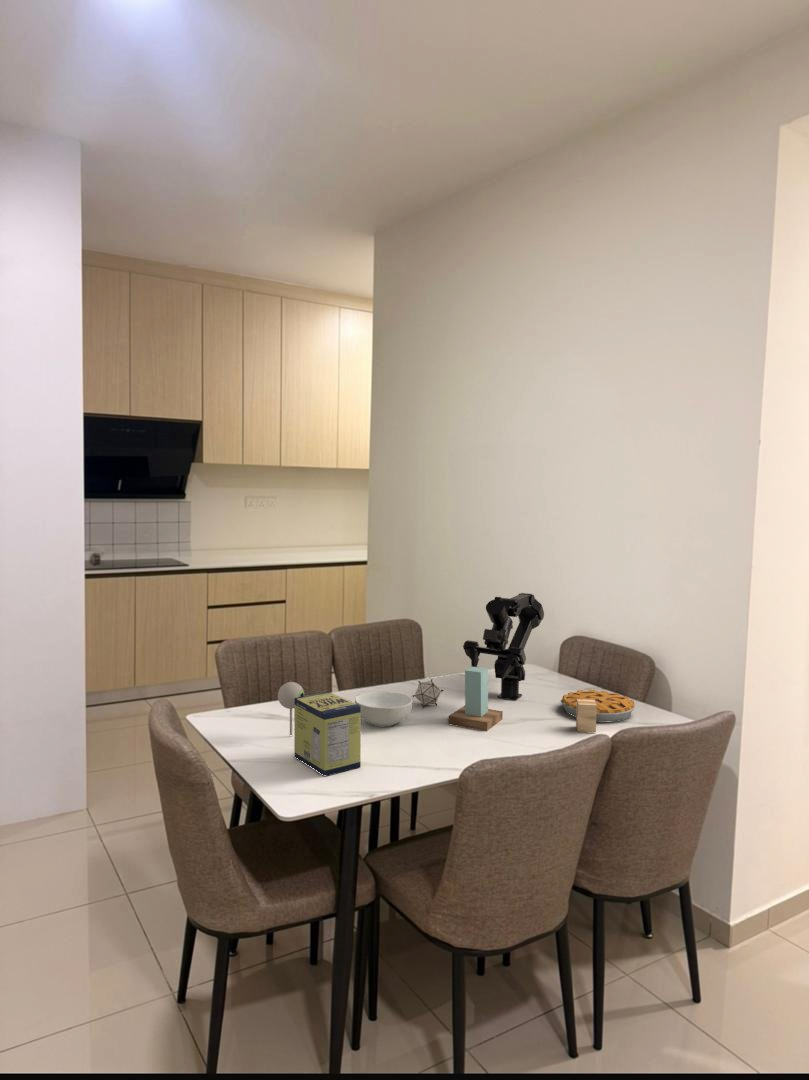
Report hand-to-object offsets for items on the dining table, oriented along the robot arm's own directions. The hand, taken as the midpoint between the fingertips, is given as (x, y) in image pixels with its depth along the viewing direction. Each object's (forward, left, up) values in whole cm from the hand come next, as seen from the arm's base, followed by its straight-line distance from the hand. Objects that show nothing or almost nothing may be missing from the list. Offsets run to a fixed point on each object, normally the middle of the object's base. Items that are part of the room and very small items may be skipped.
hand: (487, 676), depth 226 cm
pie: (-19, +29, -12) cm, 37 cm away
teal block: (+8, 0, -9) cm, 12 cm away
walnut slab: (+8, 0, -12) cm, 14 cm away
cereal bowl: (+22, -23, -12) cm, 34 cm away
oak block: (-1, +30, -12) cm, 32 cm away
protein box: (+56, -20, -12) cm, 61 cm away
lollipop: (+45, -39, -12) cm, 61 cm away
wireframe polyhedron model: (+1, -19, -12) cm, 23 cm away
